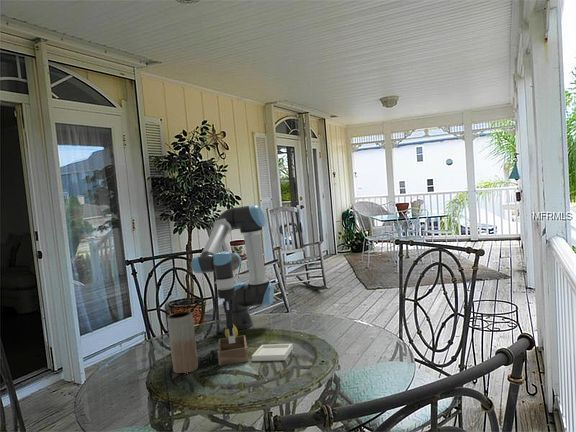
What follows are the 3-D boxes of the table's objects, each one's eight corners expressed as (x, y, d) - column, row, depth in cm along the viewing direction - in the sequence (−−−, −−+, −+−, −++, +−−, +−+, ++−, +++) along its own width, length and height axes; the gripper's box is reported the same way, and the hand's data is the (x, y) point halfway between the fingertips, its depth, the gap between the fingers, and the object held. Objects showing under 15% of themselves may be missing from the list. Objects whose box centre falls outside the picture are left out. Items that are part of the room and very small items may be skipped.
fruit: (223, 343, 189) (221, 325, 189) (229, 339, 194) (227, 321, 194) (235, 343, 187) (232, 325, 187) (240, 339, 192) (238, 321, 192)
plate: (262, 349, 194) (261, 344, 194) (293, 348, 191) (292, 343, 191) (252, 361, 181) (251, 355, 181) (284, 360, 177) (284, 354, 177)
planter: (171, 368, 182) (165, 314, 182) (195, 363, 186) (189, 310, 186) (175, 376, 173) (168, 319, 173) (200, 370, 177) (194, 314, 177)
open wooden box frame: (220, 351, 199) (218, 339, 199) (246, 346, 201) (245, 335, 201) (219, 365, 180) (217, 352, 180) (248, 360, 181) (246, 347, 181)
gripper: (217, 285, 199) (223, 335, 199) (216, 293, 180) (223, 348, 181) (234, 283, 200) (240, 333, 200) (234, 290, 181) (241, 346, 182)
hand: (232, 340), depth 191 cm, fingers closed on fruit, 6 cm apart
